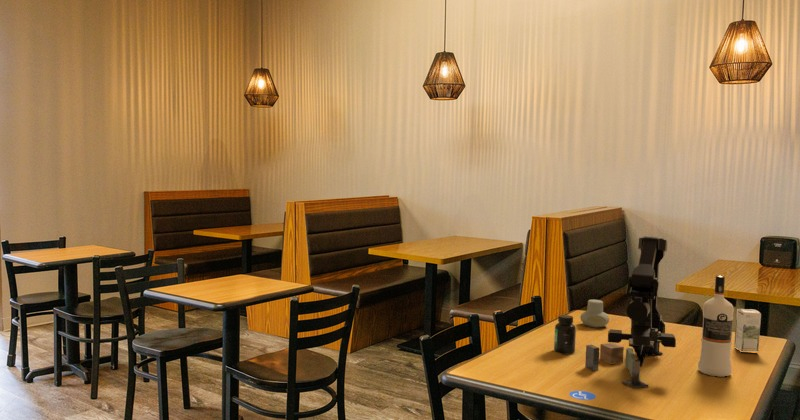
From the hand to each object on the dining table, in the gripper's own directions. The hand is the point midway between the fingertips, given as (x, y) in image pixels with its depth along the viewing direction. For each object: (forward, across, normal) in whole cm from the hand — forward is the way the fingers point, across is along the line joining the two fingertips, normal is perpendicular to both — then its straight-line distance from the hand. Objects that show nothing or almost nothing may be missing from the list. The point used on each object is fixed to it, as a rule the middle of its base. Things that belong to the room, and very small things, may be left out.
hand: (640, 366), depth 188 cm
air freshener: (+2, -16, +58) cm, 60 cm away
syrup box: (+4, +35, +44) cm, 56 cm away
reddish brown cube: (+2, -9, +12) cm, 15 cm away
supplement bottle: (+2, -24, +16) cm, 29 cm away
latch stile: (+2, -14, +1) cm, 14 cm away
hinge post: (+3, -2, -10) cm, 10 cm away
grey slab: (+2, -3, 0) cm, 4 cm away
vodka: (+4, +21, +13) cm, 25 cm away
